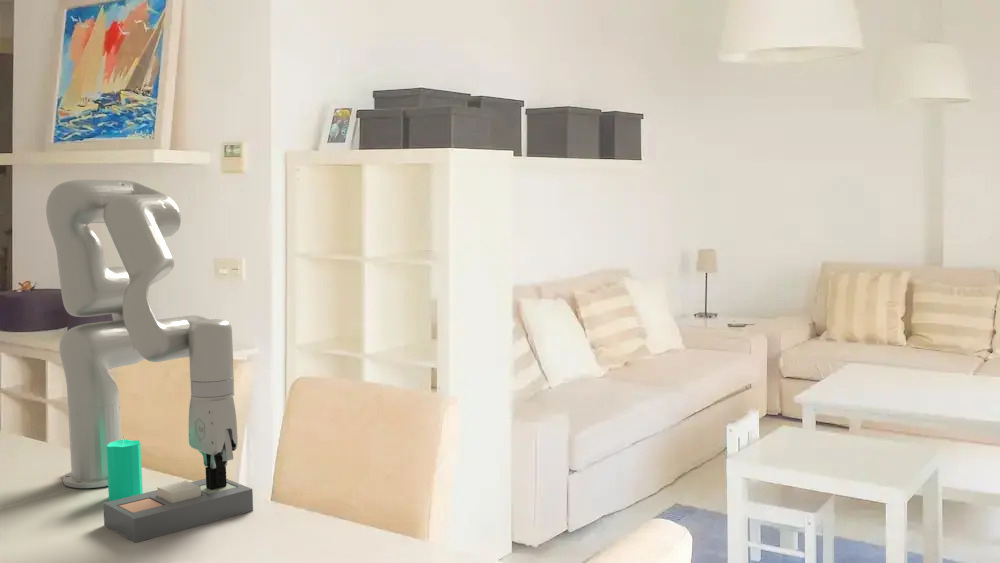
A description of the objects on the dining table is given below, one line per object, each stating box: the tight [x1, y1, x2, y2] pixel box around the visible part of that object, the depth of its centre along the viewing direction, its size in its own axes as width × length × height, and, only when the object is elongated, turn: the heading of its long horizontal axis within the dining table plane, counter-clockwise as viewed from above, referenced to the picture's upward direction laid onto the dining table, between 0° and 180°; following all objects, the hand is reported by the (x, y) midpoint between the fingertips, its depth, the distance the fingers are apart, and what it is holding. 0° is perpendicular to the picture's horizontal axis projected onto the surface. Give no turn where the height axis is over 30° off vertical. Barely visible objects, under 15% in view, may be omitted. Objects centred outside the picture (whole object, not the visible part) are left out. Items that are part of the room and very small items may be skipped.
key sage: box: [200, 484, 236, 494], centre depth 175 cm, size 5×5×3 cm
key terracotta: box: [119, 499, 163, 513], centre depth 165 cm, size 5×5×3 cm
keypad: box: [102, 478, 254, 543], centre depth 170 cm, size 12×22×4 cm, turn 136°
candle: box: [107, 434, 144, 501], centre depth 182 cm, size 6×6×12 cm
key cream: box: [156, 480, 201, 503], centre depth 170 cm, size 5×5×3 cm
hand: (216, 487), depth 175 cm, fingers closed
